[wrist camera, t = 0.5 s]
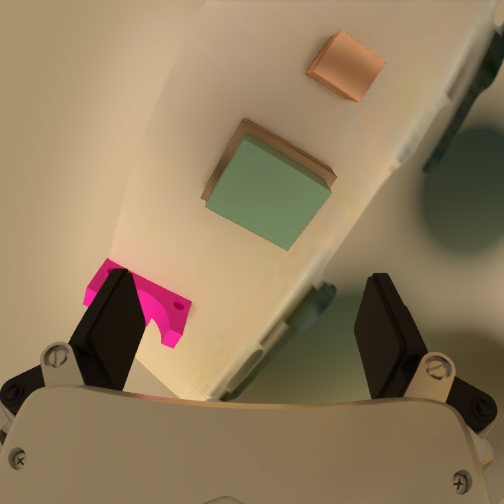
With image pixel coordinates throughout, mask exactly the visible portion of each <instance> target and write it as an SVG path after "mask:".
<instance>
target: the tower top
mask: <svg viewBox="0 0 504 504" xmlns="http://www.w3.org/2000/svg"><path fill="white" fill-rule="evenodd" d="M331 193H332V192H331V190H330V188H329V187H328V185H327V183H326V181H325V180H324V179H323V178H321V177H320V176H318V175H317V174H315V173H313V172H312V171H310V170H309V169H307V168H306V167H304V166H302V165H301V164H299V163H298V162H296V161H294V160H293V159H291V158H289V157H288V156H286V155H284V154H283V153H281V152H279V151H278V150H276V149H274V148H273V147H271V146H269V145H268V144H266V143H264V142H262V141H261V140H259V139H257V138H255V137H254V136H252V135H250V134H248V133H247V132H246V134H245V135H244V137H243V139H242V140H241V142H240V144H239V145H238V147H237V149H236V150H235V152H234V154H233V155H232V157H231V159H230V160H229V162H228V164H227V166H226V167H225V169H224V171H223V172H222V174H221V176H220V178H219V179H218V181H217V183H216V185H215V186H214V188H213V190H212V192H211V194H210V196H209V198H208V200H207V203H206V205H205V207H206V208H208V209H210V210H211V211H213V212H215V213H217V214H219V215H221V216H223V217H225V218H227V219H229V220H230V221H232V222H234V223H236V224H238V225H240V226H242V227H244V228H245V229H247V230H249V231H251V232H253V233H255V234H257V235H259V236H260V237H262V238H264V239H266V240H268V241H270V242H272V243H273V244H275V245H277V246H279V247H281V248H283V249H285V250H286V251H288V250H289V249H290V247H291V246H292V245H293V244H294V242H295V241H296V240H297V238H298V237H299V236H300V234H301V233H302V232H303V230H304V229H305V228H306V226H307V225H308V224H309V222H310V221H311V220H312V218H313V217H314V216H315V214H316V213H317V212H318V210H319V209H320V208H321V206H322V205H323V204H324V202H325V201H326V200H327V198H328V197H329V196H330V194H331Z"/></svg>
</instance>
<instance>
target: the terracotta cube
mask: <svg viewBox="0 0 504 504" xmlns="http://www.w3.org/2000/svg"><path fill="white" fill-rule="evenodd" d="M385 63H386V62H385V61H384V60H382V59H381V58H380V57H379V56H377V55H376V54H375V53H373V52H372V51H370V50H369V49H368V48H366V47H365V46H364V45H362V44H361V43H359V42H358V41H356V40H355V39H353V38H352V37H351V36H349V35H348V34H346V33H344V32H343V31H339V32H337V33H336V34H334V35H332V36H331V37H329V39H328V40H327V42H326V43H325V45H324V46H323V48H322V49H321V50H320V52H319V53H318V55H317V56H316V58H315V59H314V61H313V62H312V64H311V66H310V67H309V69H308V70H307V72H306V74H307V75H309V76H311V77H312V78H314V79H315V80H317V81H319V82H320V83H322V84H323V85H325V86H327V87H328V88H330V89H331V90H333V91H334V92H336V93H337V94H339V95H340V96H342V97H343V98H345V99H347V100H351V101H355V102H360V101H361V99H362V98H363V96H364V95H365V93H366V92H367V90H368V89H369V87H370V86H371V84H372V83H373V81H374V80H375V78H376V77H377V75H378V74H379V72H380V71H381V69H382V68H383V66H384V65H385Z"/></svg>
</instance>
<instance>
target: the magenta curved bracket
mask: <svg viewBox="0 0 504 504" xmlns="http://www.w3.org/2000/svg"><path fill="white" fill-rule="evenodd" d="M113 268H124V267H122V266H120V265H118V264H116V263H114V262H113V261H111V260H109V258H107V259H106V261H105V262H104V263H103V265H102V266H101V268H100V269H99V270H98V272H97V273H96V275H95V276H94V278H93V279H92V280H91V282H90V283H89V285H88V286H87V289H86V293H85V298H84V302H83V304H84V305H86V306H87V307H89V306H90V304H91V302H92V301H93V299H94V297H95V296H96V294H97V293H98V291H99V289H100V288H101V286H102V285H103V283H104V282H105V280H106V278H107V277H108V275H109V274H110V272H111V271H112V269H113ZM128 271H129V270H128ZM129 272H131V271H129ZM131 273H132V274H133V278H134V281H135V285H136V289H137V293H138V296H139V300H140V303H141V307H142V310H143V313H144V317H145V320H146V326H148V324H149V322H150V320H151V318H153V320H154V321H155V322H156V324H157V325H158V328H159V330H160V333H161V343H162V344H164V345H166V346H168V347H171V348H173V349H174V347H175V346H176V344H177V343H178V341H179V339H180V338H181V336H182V335H183V331H184V327H185V324H186V320H187V316H188V312H189V309H190V305H191V301H190V300H187V299H185V298H183V297H181V296H179V295H177V294H175V293H173V292H171V291H169V290H167V289H165V288H163V287H161V286H159V285H157V284H155V283H153V282H151V281H149V280H147V279H145V278H143V277H141V276H139V275H137V274H135V273H133V272H131Z"/></svg>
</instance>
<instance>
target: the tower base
mask: <svg viewBox="0 0 504 504" xmlns="http://www.w3.org/2000/svg"><path fill="white" fill-rule="evenodd" d="M246 132H247V133H248V134H250V135H252V136H254V137H255V138H257V139H259V140H261V141H262V142H264V143H266V144H268V145H269V146H271V147H273V148H274V149H276V150H278V151H279V152H281V153H283V154H284V155H286V156H288V157H289V158H291V159H293V160H294V161H296V162H298V163H299V164H301V165H302V166H304V167H306V168H307V169H309V170H310V171H312V172H313V173H315V174H317V175H318V176H320V177H321V178H323V179H324V180H325V181H326V183H327V185H328V187H329V188H330V187H331V185H332V184H333V182H334V181H335V180H336V178H337V176H336V175H335V174H334V172H333V171H332V169H331V168H329V167H328V166H326V165H325V164H323V163H322V162H320V161H318V160H317V159H315V158H314V157H312V156H310V155H309V154H307V153H305V152H304V151H302V150H300V149H299V148H297V147H295V146H294V145H292V144H290V143H289V142H287V141H285V140H283V139H282V138H280V137H278V136H276V135H275V134H273V133H271V132H269V131H268V130H266V129H264V128H262V127H260V126H259V125H257V124H255V123H253V122H251V121H249V120H247V119H245V118H244V119H243V121H242V122H241V124H240V126H239V128H238V129H237V131H236V133H235V135H234V136H233V138H232V140H231V142H230V143H229V145H228V147H227V149H226V151H225V152H224V154H223V156H222V158H221V160H220V161H219V163H218V165H217V167H216V169H215V171H214V173H213V174H212V176H211V178H210V180H209V182H208V184H207V186H206V188H205V190H204V192H203V194H202V196H201V199H203V200H205V201H207V200H208V198H209V196H210V194H211V192H212V190H213V188H214V186H215V185H216V183H217V181H218V179H219V178H220V176H221V174H222V172H223V171H224V169H225V167H226V166H227V164H228V162H229V160H230V159H231V157H232V155H233V154H234V152H235V150H236V149H237V147H238V145H239V144H240V142H241V140H242V139H243V137H244V135H245V134H246Z"/></svg>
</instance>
